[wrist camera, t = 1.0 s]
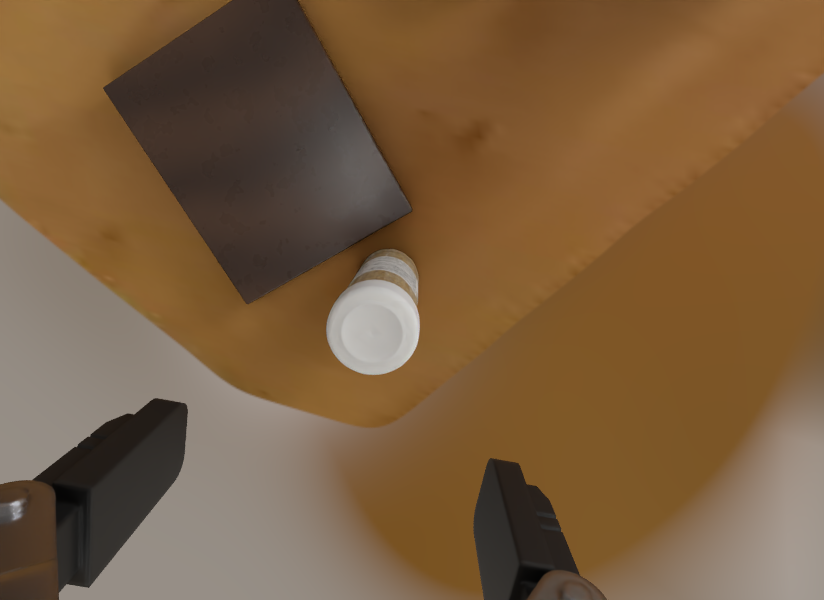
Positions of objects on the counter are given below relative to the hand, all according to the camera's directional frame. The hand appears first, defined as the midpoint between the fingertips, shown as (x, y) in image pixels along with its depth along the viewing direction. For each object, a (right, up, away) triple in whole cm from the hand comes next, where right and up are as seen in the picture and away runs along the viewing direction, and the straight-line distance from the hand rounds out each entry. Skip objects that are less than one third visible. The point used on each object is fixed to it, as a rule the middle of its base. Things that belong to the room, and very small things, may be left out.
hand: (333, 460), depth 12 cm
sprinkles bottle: (0, +6, +23) cm, 24 cm away
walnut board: (-8, +15, +21) cm, 27 cm away
